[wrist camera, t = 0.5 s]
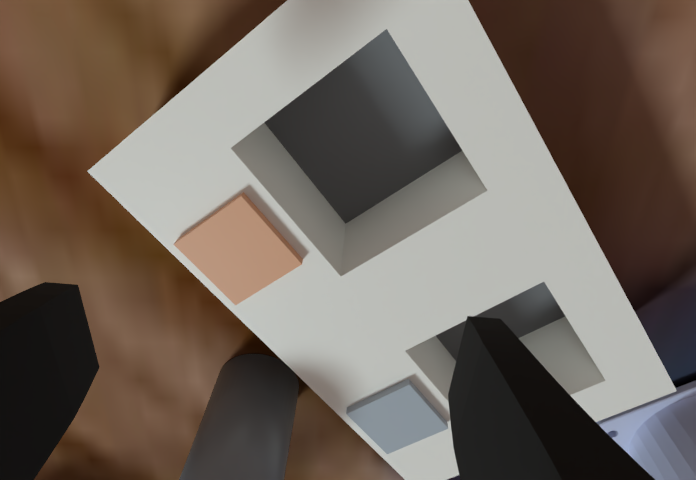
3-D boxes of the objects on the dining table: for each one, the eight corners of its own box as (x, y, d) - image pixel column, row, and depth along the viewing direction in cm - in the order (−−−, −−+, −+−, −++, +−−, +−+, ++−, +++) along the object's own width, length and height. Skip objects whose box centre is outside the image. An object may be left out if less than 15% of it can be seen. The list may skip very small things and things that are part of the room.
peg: (315, 392, 23) (292, 569, 16) (255, 422, 24) (210, 599, 17) (262, 341, 22) (213, 512, 15) (201, 375, 23) (129, 549, 16)
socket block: (623, 320, 20) (681, 397, 17) (409, 415, 24) (417, 497, 20) (399, -84, 13) (412, -109, 10) (145, 131, 17) (81, 175, 13)
